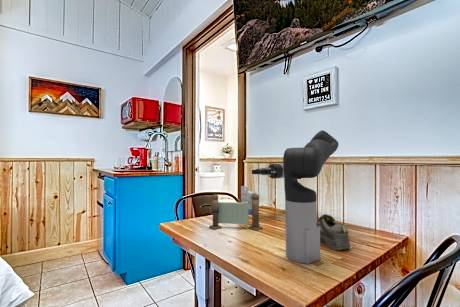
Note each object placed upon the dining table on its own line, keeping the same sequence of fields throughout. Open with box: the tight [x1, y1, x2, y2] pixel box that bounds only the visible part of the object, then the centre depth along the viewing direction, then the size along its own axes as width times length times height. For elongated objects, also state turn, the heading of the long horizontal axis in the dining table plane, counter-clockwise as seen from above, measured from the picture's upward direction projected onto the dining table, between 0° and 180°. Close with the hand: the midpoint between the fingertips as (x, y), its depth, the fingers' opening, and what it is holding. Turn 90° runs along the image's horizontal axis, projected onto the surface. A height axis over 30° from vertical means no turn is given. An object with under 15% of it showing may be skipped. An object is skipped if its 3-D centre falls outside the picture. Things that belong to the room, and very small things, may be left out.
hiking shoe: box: [317, 214, 352, 251], centre depth 91 cm, size 9×21×12 cm, turn 16°
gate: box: [218, 200, 249, 227], centre depth 111 cm, size 15×2×10 cm, turn 78°
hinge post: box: [248, 192, 263, 231], centre depth 108 cm, size 4×4×15 cm
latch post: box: [208, 193, 222, 231], centre depth 110 cm, size 4×4×15 cm
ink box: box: [240, 185, 257, 216], centre depth 139 cm, size 9×5×15 cm, turn 25°
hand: (252, 172), depth 122 cm, fingers closed
